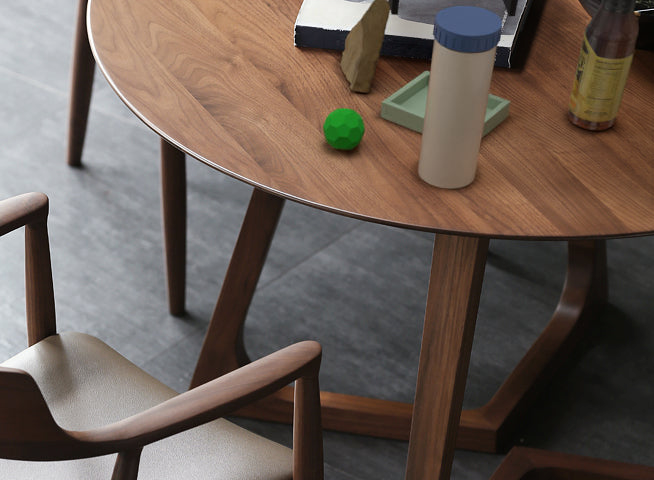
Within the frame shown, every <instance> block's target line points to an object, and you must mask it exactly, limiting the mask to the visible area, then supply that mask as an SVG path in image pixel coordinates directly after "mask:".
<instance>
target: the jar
mask: <svg viewBox="0 0 654 480" xmlns="http://www.w3.org/2000/svg"><path fill="white" fill-rule="evenodd" d="M497 50H498V45H496V46H495V47H494V48H492V49H489V50H486V51H481V52H462V51H457V50H452V49H450V48H447V47H445V46H443V45H441V44H439V43H438V42H437V41H436V40H435V39H434V38H433V45H432V51H431V52H432V53H431V59H430V60H431V62H430V70H429V72H430V76H429V84H428V92H427V100H426V108H425V116H424V124H423V132H422V133H421V140H420V142H421V143H420V149H419V157H418V165H417V173H418V176H419V178H420V179H421V180H422V181H423V182H425V183H427V184H428V185H429V186H433V187H436V188H440V189H447V190H449V189H450V190H453V189H461V188H465V187H467V186H469V185H470V184H472V183H473V182H474V181H475V178H476V174H477V169H478V168H477V167H478V162H479V158H480V157H479V156H480V151H481V150H480V149H481V144H482V139H483V138H482V133H483V127H484V121H485V115H486V109H487V103H488V97H489V94H490V90H491V84H492V80H493V73H494V66H495V61H496V56H497Z"/></svg>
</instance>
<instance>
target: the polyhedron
mask: <svg viewBox="0 0 654 480" xmlns="http://www.w3.org/2000/svg"><path fill="white" fill-rule="evenodd" d="M322 130H323V134H324V139H325V141H326V143H327V144H328V145H329V146H331V147H332V148H333V149H336V150H342V151H343V150H344V151H345V150H346V151H348V150H349V151H350V150H352V149H354V148H355V147H357V146H359V144H360V143H361V142H362V140H363V137H364V135H365V131H366V129H365V122H364V120H363V118H362V115H361V114H359V113H358V112H357V111H356V110H355V109H353V108H346V107H340V108H336V109H335V110H333V111H331V112H330V113H328V115H327V116H326V118H325V121H324V123H323V126H322Z"/></svg>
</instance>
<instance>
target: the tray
mask: <svg viewBox="0 0 654 480" xmlns="http://www.w3.org/2000/svg"><path fill="white" fill-rule="evenodd" d="M429 76H430V70H425V71H423V72H422V73H420V74H419V75H417V76H416V77H414V78H413V79H412V80H410V81H409V82H408V83H406V84H404V86H402V87H401V88H399V89H398V90H397V91H395V92H393V93H392V94H391V95H389V96H388V97H387V98H385V99H383V100H382V101H381V106H380V116H379V117H380V118H381V119H384V120H385V121H388V122H392V123H394V124H397V125H399V126H401V127H404V128H407V129H410V130H411V131H415V132H417V133H420V134H422V132H423V124H424V116H425V108H426V100H427V92H428V84H429ZM511 102H512V101H511V100H508V99H506V98H504V97H500V96H498V95H495V94H492V93H489V97H488V103H487V109H486V115H485V121H484V127H483V133H482V139H483V138H484V137H485V136H486V135H488V134H489V133H490V132H491V131H492V130H494V129H495V128H496V127H497V126H499V125H501V123H502V122H503V121H505V120H506V119H507V118H508V117H509V114H510V108H511V104H512V103H511Z"/></svg>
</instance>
